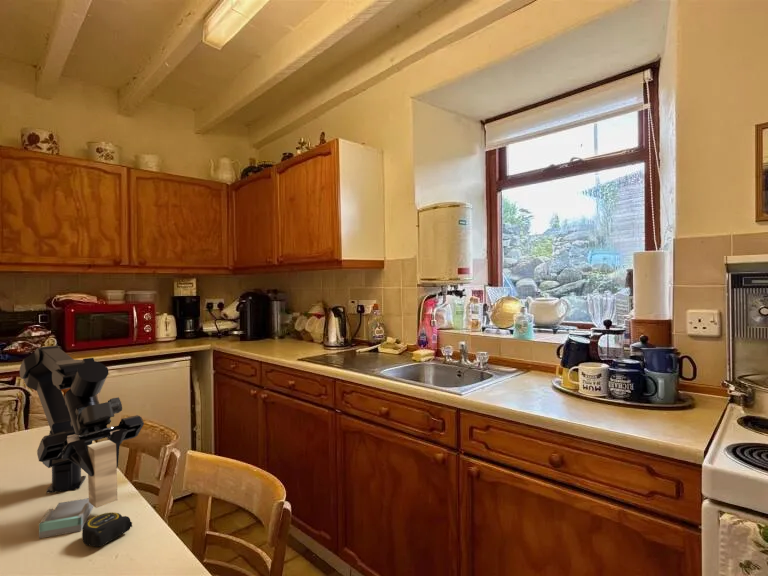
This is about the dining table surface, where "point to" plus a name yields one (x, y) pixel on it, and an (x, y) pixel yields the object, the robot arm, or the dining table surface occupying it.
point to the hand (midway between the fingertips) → (104, 471)
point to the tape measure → (105, 528)
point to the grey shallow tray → (65, 518)
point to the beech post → (102, 473)
